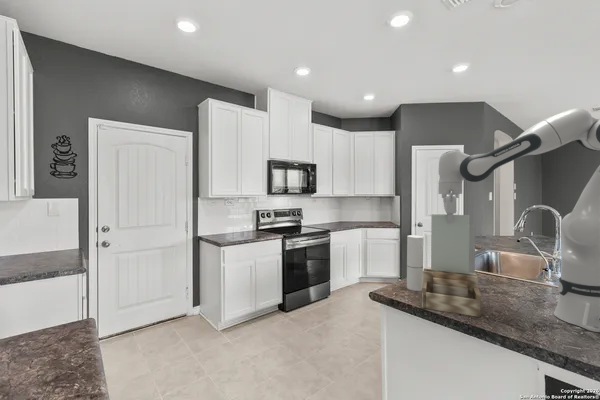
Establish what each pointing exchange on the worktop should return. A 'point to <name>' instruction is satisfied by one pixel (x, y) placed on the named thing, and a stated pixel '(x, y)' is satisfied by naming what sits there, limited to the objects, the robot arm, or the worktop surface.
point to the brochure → (471, 249)
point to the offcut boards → (450, 284)
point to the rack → (452, 302)
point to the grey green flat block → (450, 243)
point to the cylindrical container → (414, 262)
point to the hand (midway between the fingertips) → (449, 222)
